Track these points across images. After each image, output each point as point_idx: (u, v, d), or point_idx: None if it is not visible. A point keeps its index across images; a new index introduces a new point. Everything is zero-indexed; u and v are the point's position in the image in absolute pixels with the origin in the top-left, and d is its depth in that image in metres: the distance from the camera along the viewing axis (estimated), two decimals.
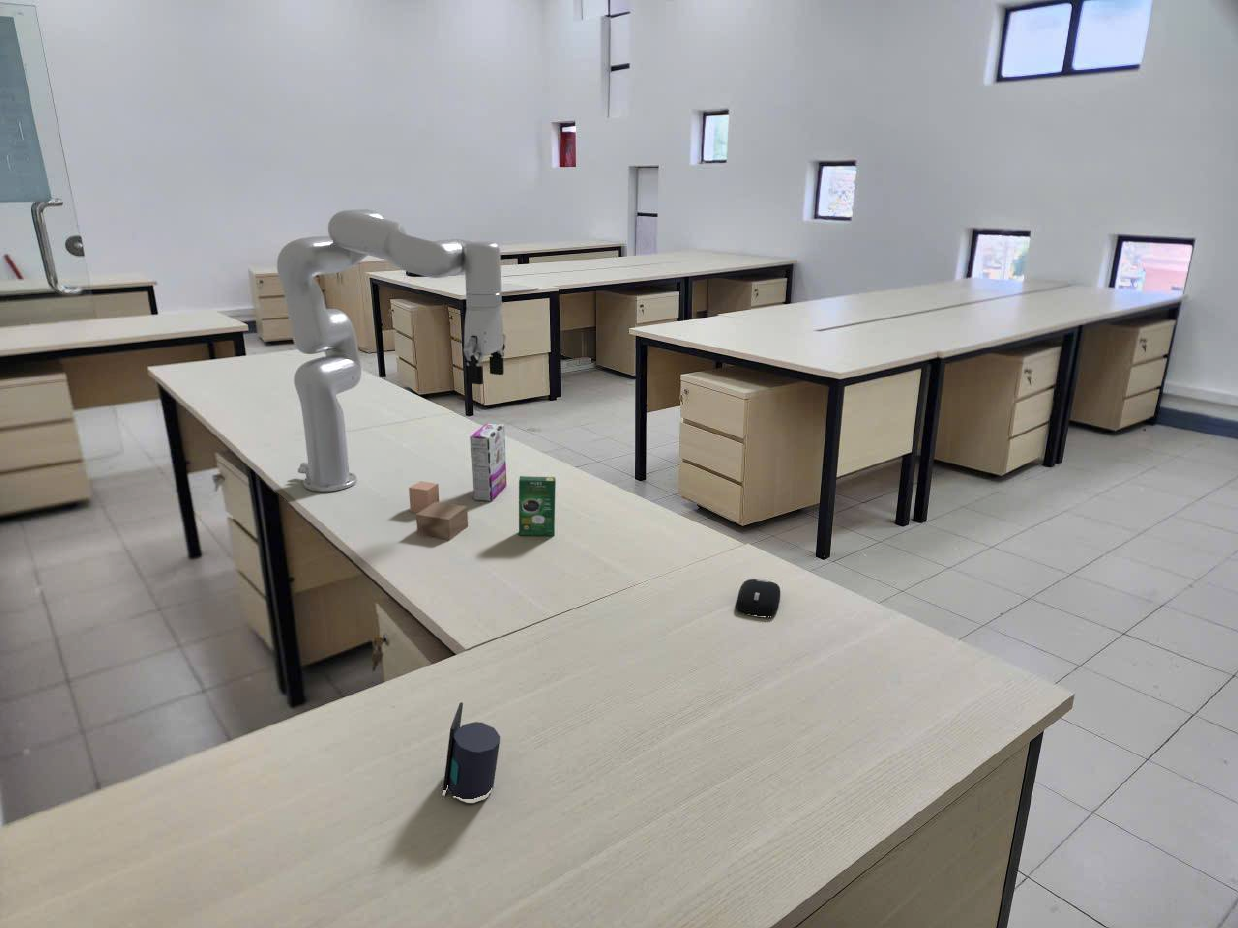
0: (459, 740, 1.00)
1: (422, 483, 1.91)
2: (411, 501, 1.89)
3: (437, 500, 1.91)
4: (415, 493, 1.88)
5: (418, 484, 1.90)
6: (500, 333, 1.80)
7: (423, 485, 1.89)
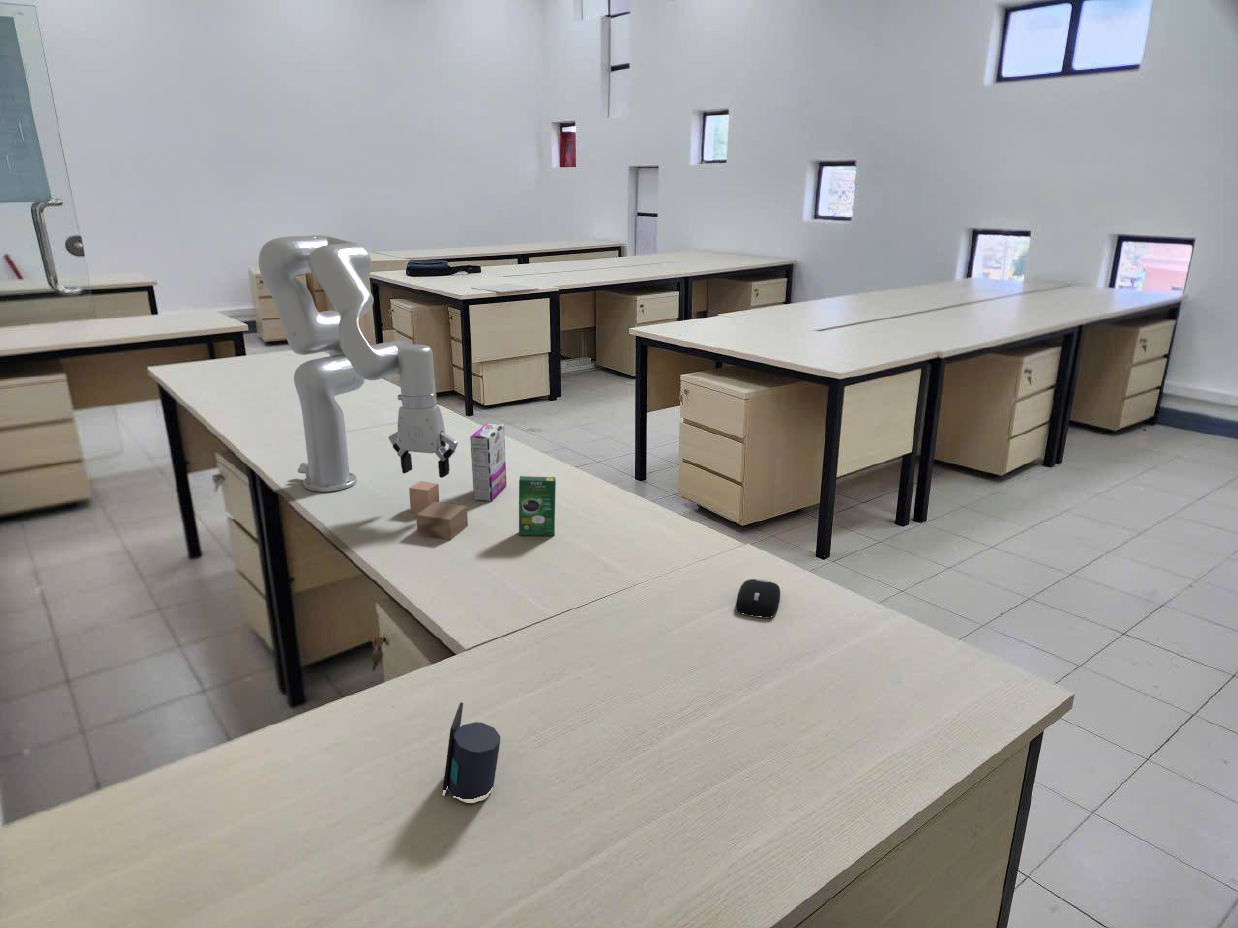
0: (459, 740, 1.00)
1: (422, 483, 1.91)
2: (411, 501, 1.89)
3: (437, 500, 1.91)
4: (415, 493, 1.88)
5: (418, 484, 1.90)
6: None
7: (423, 485, 1.89)
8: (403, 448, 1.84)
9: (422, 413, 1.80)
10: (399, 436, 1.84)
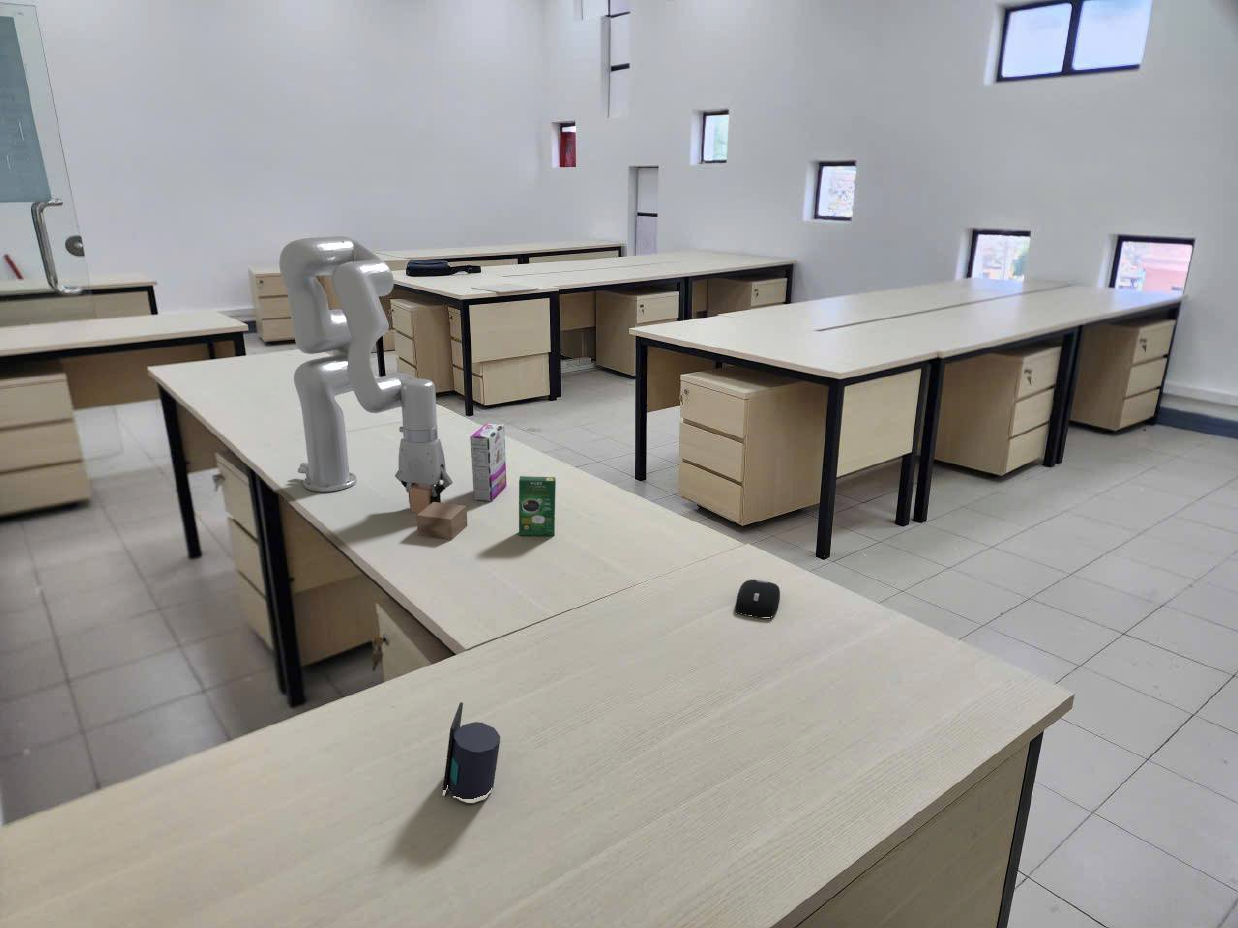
0: (459, 740, 1.00)
1: None
2: (411, 501, 1.89)
3: None
4: (415, 493, 1.88)
5: (418, 484, 1.90)
6: None
7: (423, 485, 1.89)
8: (403, 479, 1.87)
9: (423, 447, 1.83)
10: (400, 467, 1.86)
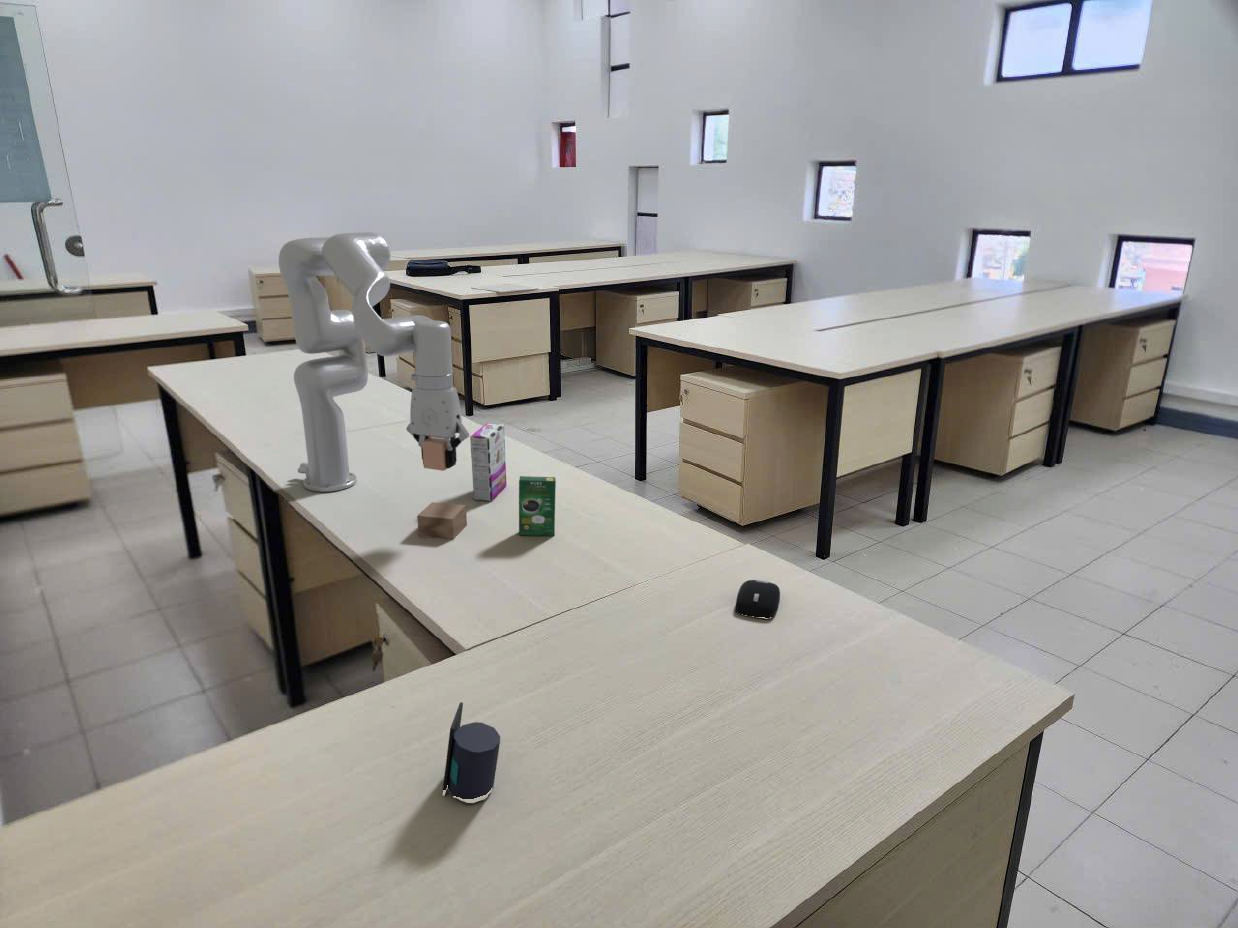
0: (459, 740, 1.00)
1: None
2: (424, 456, 1.73)
3: None
4: (428, 447, 1.72)
5: (432, 437, 1.74)
6: None
7: (437, 438, 1.73)
8: (416, 432, 1.71)
9: (437, 395, 1.67)
10: (412, 419, 1.71)
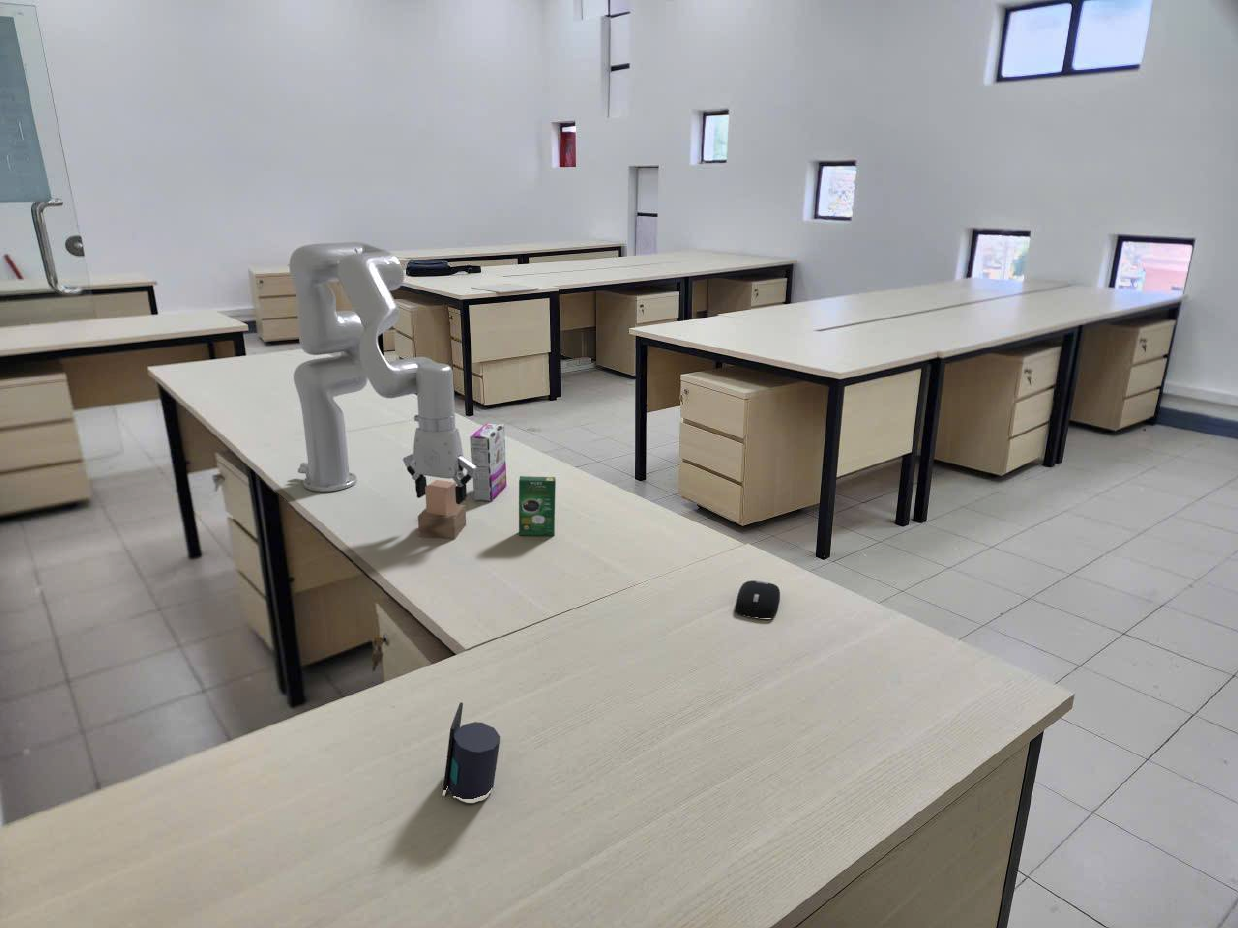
0: (459, 740, 1.00)
1: (438, 481, 1.78)
2: (427, 501, 1.76)
3: (455, 500, 1.78)
4: (431, 493, 1.75)
5: (434, 483, 1.77)
6: None
7: (440, 484, 1.77)
8: (418, 472, 1.74)
9: (440, 437, 1.70)
10: (414, 459, 1.73)
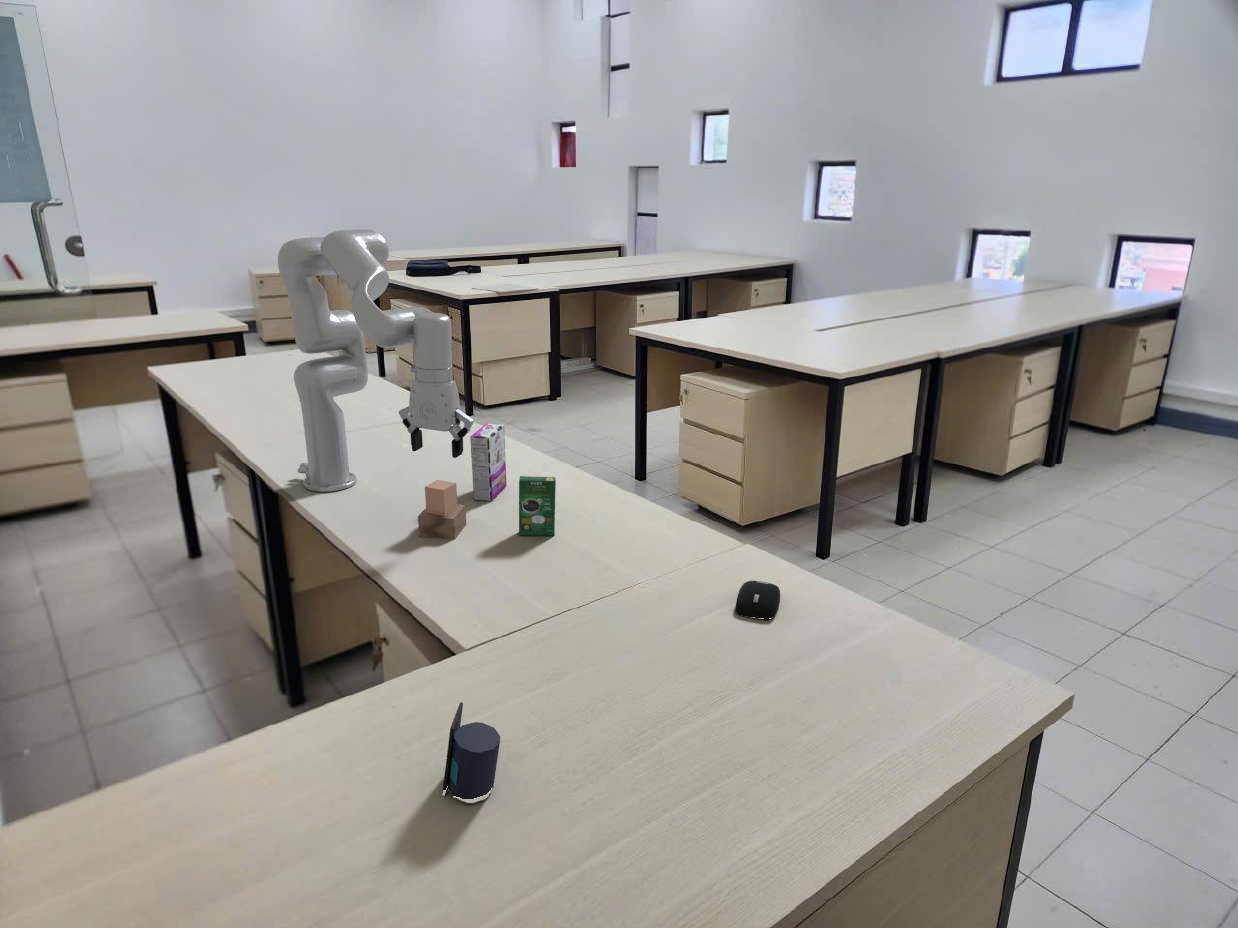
0: (459, 740, 1.00)
1: (438, 481, 1.78)
2: (427, 501, 1.76)
3: (454, 500, 1.78)
4: (431, 493, 1.75)
5: (434, 483, 1.77)
6: None
7: (440, 484, 1.77)
8: (414, 424, 1.71)
9: (437, 388, 1.66)
10: (410, 411, 1.70)
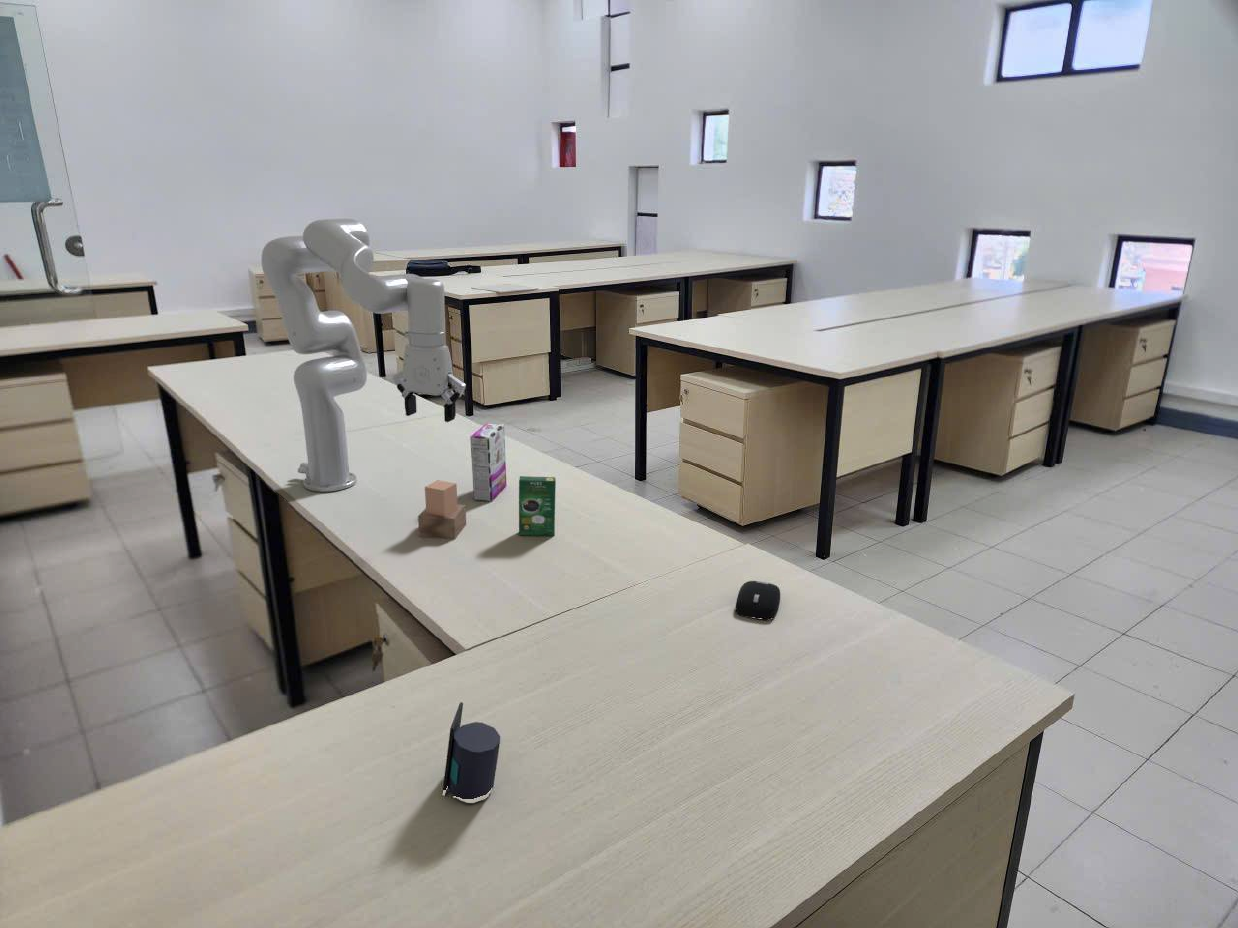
0: (459, 740, 1.00)
1: (439, 482, 1.78)
2: (427, 501, 1.76)
3: (455, 501, 1.78)
4: (431, 493, 1.75)
5: (435, 483, 1.77)
6: None
7: (440, 484, 1.76)
8: (408, 389, 1.74)
9: (429, 352, 1.70)
10: (404, 376, 1.74)
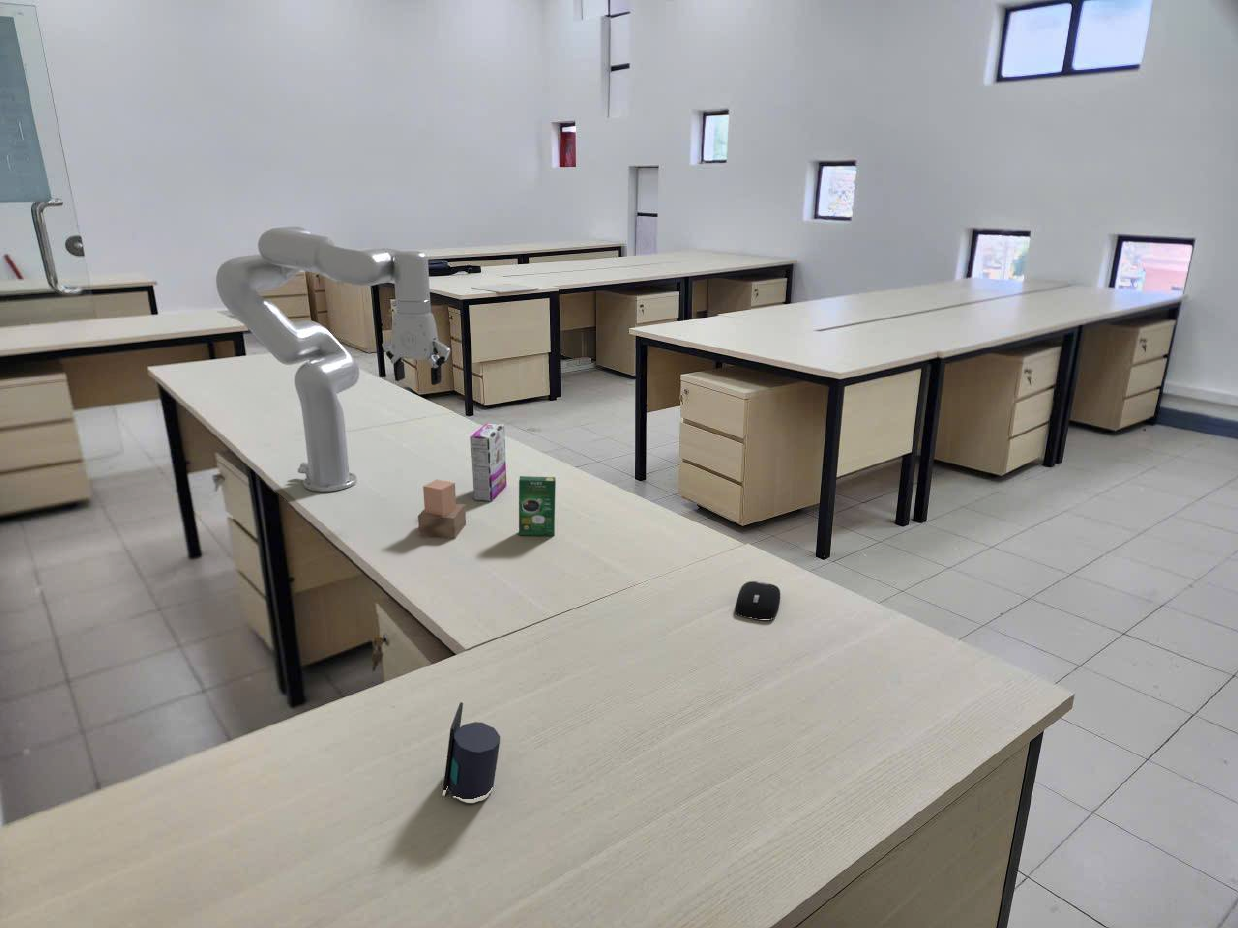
0: (459, 740, 1.00)
1: (437, 481, 1.78)
2: (425, 500, 1.76)
3: (453, 500, 1.78)
4: (429, 492, 1.75)
5: (433, 483, 1.77)
6: None
7: (438, 484, 1.77)
8: (396, 354, 1.87)
9: (416, 319, 1.82)
10: (393, 342, 1.86)
